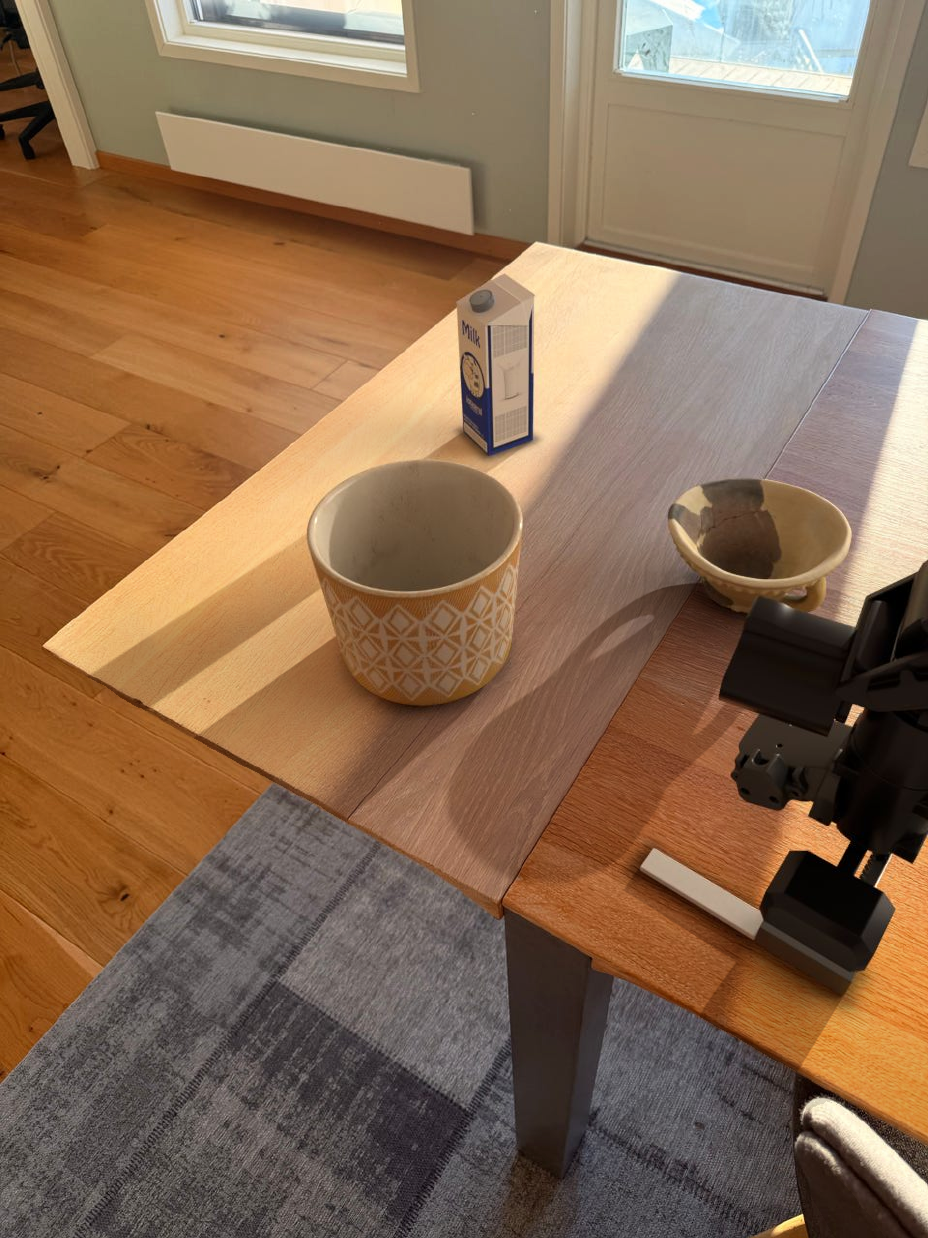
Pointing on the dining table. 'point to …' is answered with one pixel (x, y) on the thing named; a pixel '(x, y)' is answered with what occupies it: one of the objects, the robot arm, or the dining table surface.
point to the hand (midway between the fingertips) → (838, 889)
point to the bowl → (759, 541)
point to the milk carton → (497, 364)
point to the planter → (419, 577)
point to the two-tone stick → (744, 920)
